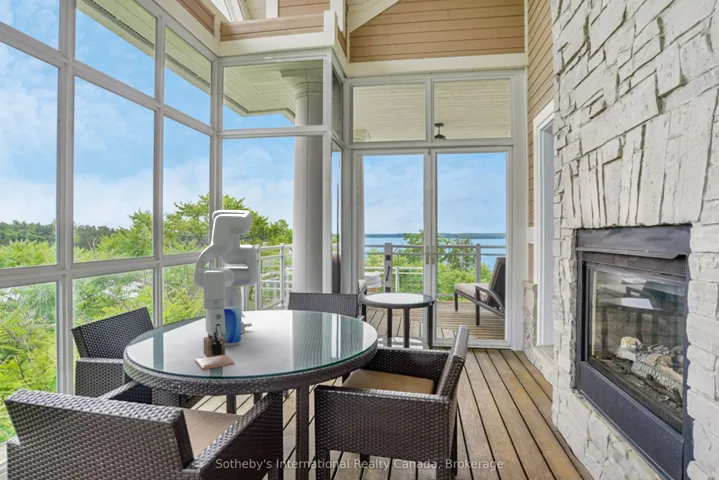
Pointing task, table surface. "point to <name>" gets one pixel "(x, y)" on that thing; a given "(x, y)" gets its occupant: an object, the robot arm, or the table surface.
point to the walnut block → (208, 346)
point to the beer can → (232, 325)
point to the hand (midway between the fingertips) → (214, 351)
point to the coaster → (214, 362)
